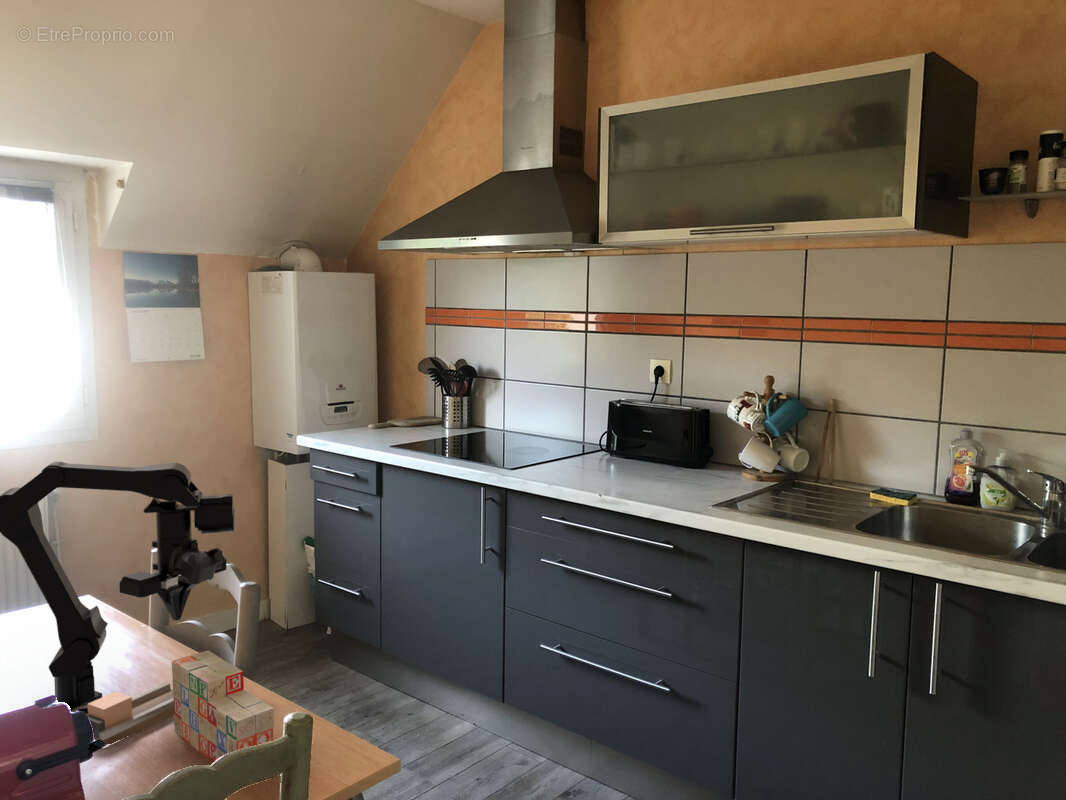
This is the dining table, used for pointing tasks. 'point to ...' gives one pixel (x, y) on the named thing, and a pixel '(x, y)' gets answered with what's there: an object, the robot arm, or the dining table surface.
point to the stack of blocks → (217, 706)
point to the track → (138, 715)
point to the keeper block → (111, 708)
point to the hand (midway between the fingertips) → (176, 619)
